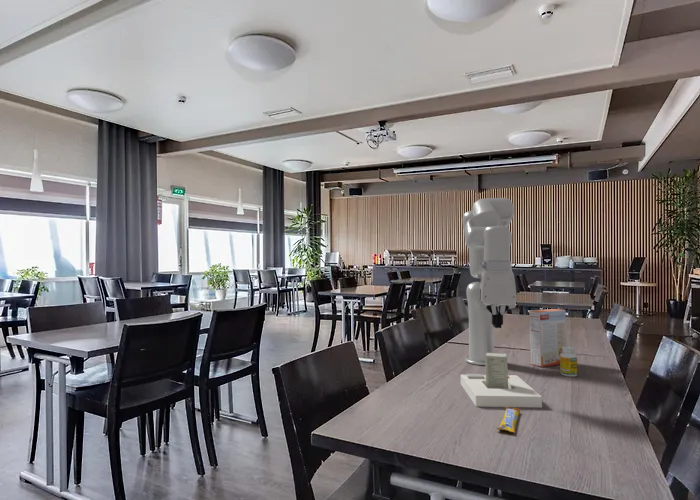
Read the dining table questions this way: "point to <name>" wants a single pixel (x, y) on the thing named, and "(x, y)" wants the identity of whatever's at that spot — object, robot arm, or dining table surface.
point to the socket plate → (500, 392)
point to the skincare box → (496, 371)
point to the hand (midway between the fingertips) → (497, 327)
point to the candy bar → (509, 419)
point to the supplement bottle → (568, 362)
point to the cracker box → (547, 336)
